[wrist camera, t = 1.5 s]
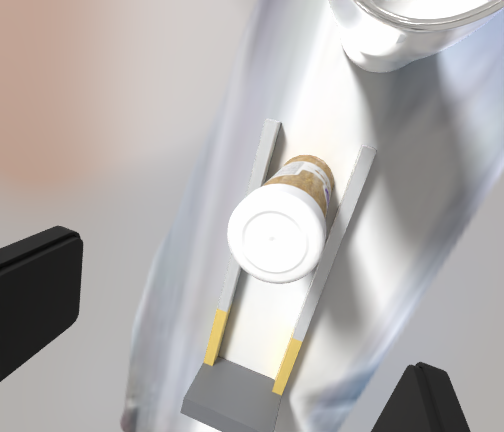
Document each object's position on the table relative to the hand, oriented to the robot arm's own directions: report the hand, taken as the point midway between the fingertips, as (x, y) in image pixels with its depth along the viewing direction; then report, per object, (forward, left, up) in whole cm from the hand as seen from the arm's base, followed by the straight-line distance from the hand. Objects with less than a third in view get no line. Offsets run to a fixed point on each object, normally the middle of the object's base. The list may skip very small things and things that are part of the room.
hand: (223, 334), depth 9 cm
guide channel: (+9, 0, -20) cm, 22 cm away
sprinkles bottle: (0, 0, -20) cm, 20 cm away
